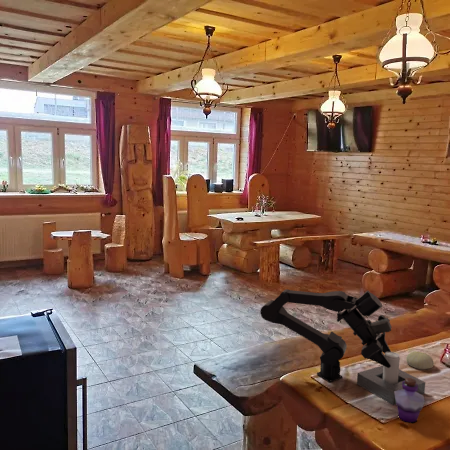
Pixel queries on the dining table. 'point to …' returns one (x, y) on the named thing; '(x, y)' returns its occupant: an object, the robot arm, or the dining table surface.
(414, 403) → the potion bottle
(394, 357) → the beverage can
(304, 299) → the robot arm
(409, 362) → the sea urchin shell
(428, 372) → the dining table surface
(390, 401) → the block
